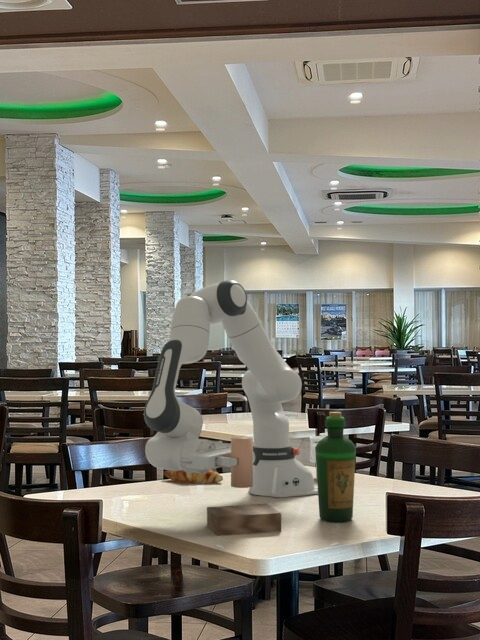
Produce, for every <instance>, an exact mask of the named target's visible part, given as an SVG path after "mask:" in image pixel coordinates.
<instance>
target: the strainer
mask: <svg viewBox="0 0 480 640" xmlns="http://www.w3.org/2000/svg"><path fill="white" fill-rule="evenodd" d="M318 434H319V435H315V436H309V441H310V442H309V443H310V444H309V445H310V446H309V447H310V448H309V449H310V450H309V452H310V453H309V454H310V457H309V462H310V463H313V464H316V452H315V447H316V445H317V444H318V442H319V441H320V440H322V439H323V438H324V437H326V436H327V433H326V432H322V433H318ZM315 479H317V468H316V467H315Z"/></svg>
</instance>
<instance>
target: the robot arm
mask: <svg viewBox="0 0 480 640" xmlns="http://www.w3.org/2000/svg"><path fill="white" fill-rule="evenodd" d="M247 298H248V297H247V293H246V290H245V289H244V287H243V285H242V284H241V283H239V282H237V281H235V280H230V279H228V280H223V281H220V282H217V283H213V284H210V285H206V286H205V287H202V288H201V289H198V290H196V291H193V292H191V293H188V294H186V295H185V296H184V297H181V298H180V299H179V300H178V302H177V303H176V304H175V308H174V311H173V316H172V319H171V324H170V325H171V326H170V333H169V339H168V341H167V342H166V343H165V344H164V345H163V347H162V349H161V352H160V355H159V358H158V363H157V367H156V371H155V375H154V378H153V383H152V388H151V391H150V393H149V397H148V399H147V401H146V403H145V406H144V410H143V420H144V422H145V424H146V426H147V427H148V428H149V429H150V430H152V431H155V432H156V434H155V435H154V436H152V437H150V438H149V439H148V440H147V441H146V443H145V447H144V448H145V449H144V453H145V457H146V460H147V461H148V462H149V464H151V465H152V466H153V467H154V468H157V469H161V470H165V471H169V470H171V471H179V470H183V471H185V472H190V473H200V474H205V473H207V472H208V471H209V470H212V471H213V470H216V469H220V468H224V467H228V466H230V467H231V466H236V465H239V458H234V457H233V458H231V443H226V442H225V443H223V441H222V440H210V439H204V438H200V437H201V436H200V435H201V433H202V428H203V425H204V421H203V417H202V416H203V415H202V414H201V412H200V411H199V410H198V409H196V408H194V407H193V406H191V405H189V404H187V403H185V402H184V401H181V400H180V399H179V398H178V397H177V394H176V389H177V383H178V379H179V375H180V369H181V367H182V365H189V364H193V363H197V362H199V361H200V360H202V359H203V358H204V357H205V356H206V355H207V353H208V349H209V342H210V325H214V324H217V323H220V322H221V324H222V326H223V329H224V331H225V333H226V336H227V338H228V340H229V342H230V344H231V346H232V348H233V350H234V352H235V354H236V356H237V358H238V360H239V361H240V362H241V363H242V364H244V366H245V367H247V369H248V370H246V371H245V373H244V374H243V375H242V380H241V387H242V390H243V391H244V393H245V395H246V396H247V400H248V404H249V408H250V412H251V416H252V425H253V427H252V428H253V429H252V430H253V434H252V435H253V436H252V438H253V486H252V487H249V488H248V493H249V494H252V495H257V496H264V497H272V498H274V497H275V498H287V497H289V498H290V497H299V496H308V495H318V485H315V479H314V475H313V473H312V471H311V470H310V468H308V467H306V466H305V465H304V464H303V463H302V462H300V460H298V459H297V458H295V457H296V456H300V454H301V450H300V449H299V448H297V447H293V446H291V445H290V421H289V419H288V418H287V415H286V414H285V412H284V407H283V405H282V404H283V403H287V402H290V401H294V400H295V399H297V398H298V396H299V395H300V393H301V391H302V385H303V384H302V378H301V377H300V375H299V374H298V372H296V371H295V370H294V369H292V368H291V366H289V364H288V363H287V362H286V361H285V359H284V358H283V357H282V356H281V354H280V353H279V352H278V350H277V349H276V348H275V347H274V345H273V344H272V342H271V340H270V338H269V336H268V334H267V331H266V330H265V328H264V326H263V323H262V321H261V320H260V318H259V316H258V314H257V313H256V311H255V309H254V307H253V306H252V304H251V303H250V302H249V300H248V299H247Z"/></svg>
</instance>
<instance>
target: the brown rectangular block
mask: <svg viewBox="0 0 480 640" xmlns="http://www.w3.org/2000/svg"><path fill="white" fill-rule="evenodd" d="M206 526H208V527H209V529H211V531H213V532H214V533H215V535H217V536H231V535H232V536H235V535H245V534H246V535H248V534H249V535H250V534H259V533H261V534H263V533H277V532H282V512H280V511H279V510H278V509H276V508H274V507H273V506H271V505H270V504H268V503H258V504H257V503H256V504H252V503H251V504H240V505H237V504H236V505H221V506H220V505H219V506H218V505H217V506H207V507H206Z"/></svg>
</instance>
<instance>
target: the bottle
mask: <svg viewBox="0 0 480 640" xmlns="http://www.w3.org/2000/svg"><path fill="white" fill-rule="evenodd" d="M328 414H329V416H325V417H326V418H325V423H324V426H325V427H326V428H327V429H326V430H327V435H326V437H324V438H323V439H322V440H320V441H319V442H317V443H318V444H317V445H316V447H315V452H316V463H315V469H316V468H317V478H316V483H317V486H318V494H317V495H318V512H319V514H318V515H319V518H320V519H321V520H323V521H325V522H329V523H345V522H349V521H351V520H352V519H353V518H354V517H353V515H354V496H355V495H354V492H355V474H356V473H355V471H356V453H357V446H356V445H355V444H354V442H353V441H352V440H351V439H349V438H348V437H346V436H344V429H345V427H347V426H346V420H345V417H344V416H342V412H341V411H329V413H328Z"/></svg>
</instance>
